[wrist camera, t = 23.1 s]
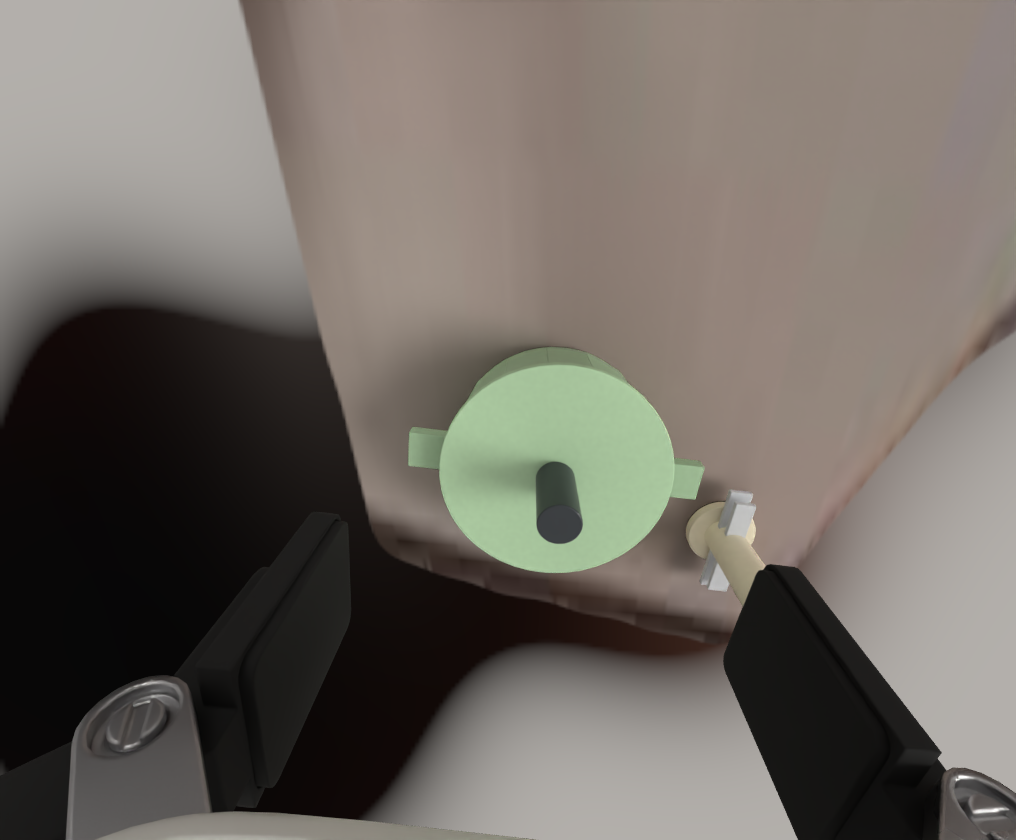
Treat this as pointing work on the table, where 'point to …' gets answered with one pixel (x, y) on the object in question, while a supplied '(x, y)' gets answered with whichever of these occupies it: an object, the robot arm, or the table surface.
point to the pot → (430, 441)
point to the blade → (726, 543)
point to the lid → (556, 467)
